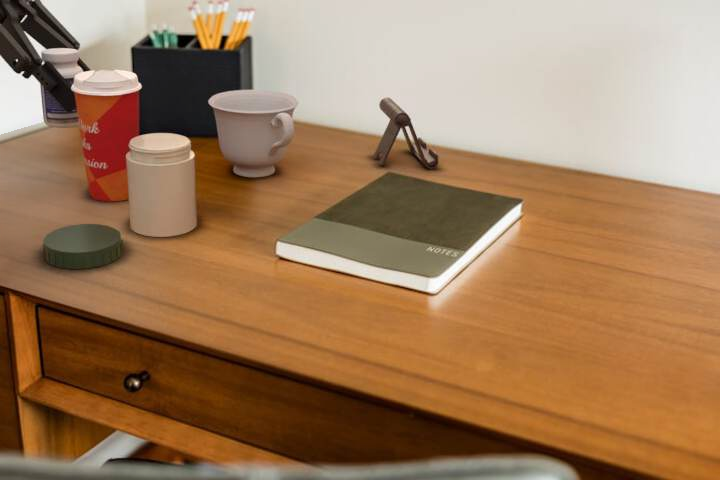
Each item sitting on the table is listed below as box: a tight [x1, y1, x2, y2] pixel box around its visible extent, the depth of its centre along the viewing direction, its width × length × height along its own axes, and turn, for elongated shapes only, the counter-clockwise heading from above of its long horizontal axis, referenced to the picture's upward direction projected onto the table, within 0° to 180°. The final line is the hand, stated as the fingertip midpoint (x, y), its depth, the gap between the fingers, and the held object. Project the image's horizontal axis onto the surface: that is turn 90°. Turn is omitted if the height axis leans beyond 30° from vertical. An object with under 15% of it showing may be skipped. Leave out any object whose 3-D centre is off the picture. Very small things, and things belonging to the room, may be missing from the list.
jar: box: [126, 132, 198, 238], centre depth 103 cm, size 8×8×10 cm
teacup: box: [207, 89, 300, 178], centre depth 121 cm, size 12×15×10 cm
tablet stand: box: [373, 97, 439, 170], centre depth 129 cm, size 9×8×8 cm
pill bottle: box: [39, 48, 83, 129], centre depth 121 cm, size 6×6×10 cm
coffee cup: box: [71, 69, 143, 202], centre depth 111 cm, size 8×8×15 cm
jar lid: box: [42, 223, 124, 270], centre depth 96 cm, size 8×8×2 cm
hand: (88, 100), depth 121 cm, fingers closed on pill bottle, 6 cm apart
